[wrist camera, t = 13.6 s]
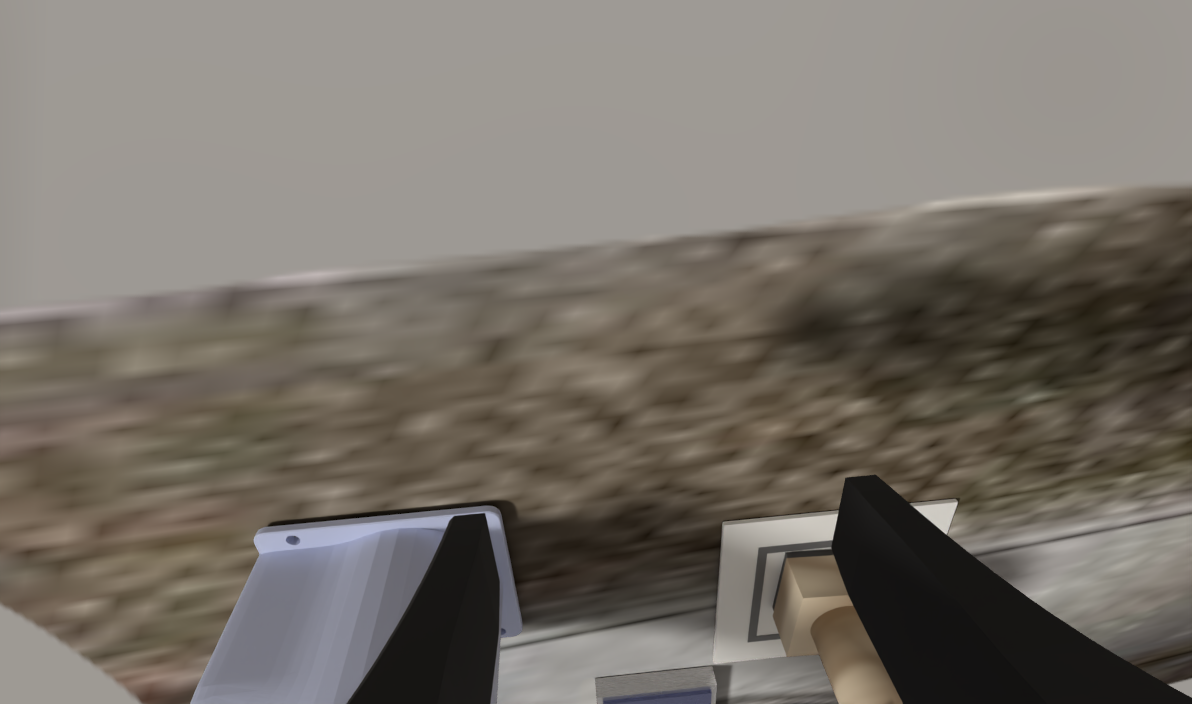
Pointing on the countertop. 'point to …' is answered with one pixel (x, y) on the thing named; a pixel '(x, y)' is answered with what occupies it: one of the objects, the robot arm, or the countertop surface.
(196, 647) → the countertop surface
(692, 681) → the ink pad
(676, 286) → the countertop surface
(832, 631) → the stamp
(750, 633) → the paper
